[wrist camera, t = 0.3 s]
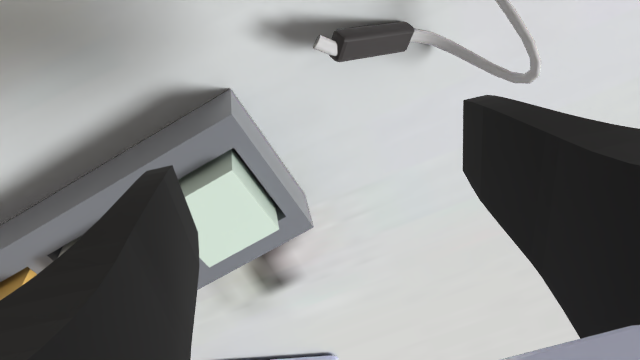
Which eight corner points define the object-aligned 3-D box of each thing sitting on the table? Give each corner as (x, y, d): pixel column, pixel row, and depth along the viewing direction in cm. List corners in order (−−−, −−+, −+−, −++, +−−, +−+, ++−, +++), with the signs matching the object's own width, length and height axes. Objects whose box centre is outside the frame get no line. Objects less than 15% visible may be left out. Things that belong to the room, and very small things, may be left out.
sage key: (231, 147, 19) (232, 170, 18) (275, 204, 21) (279, 229, 19) (161, 188, 19) (156, 213, 18) (210, 240, 21) (209, 267, 20)
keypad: (230, 88, 20) (231, 114, 17) (305, 194, 23) (313, 227, 21) (-56, 259, 22) (-88, 301, 19) (52, 333, 25) (36, 376, 23)
